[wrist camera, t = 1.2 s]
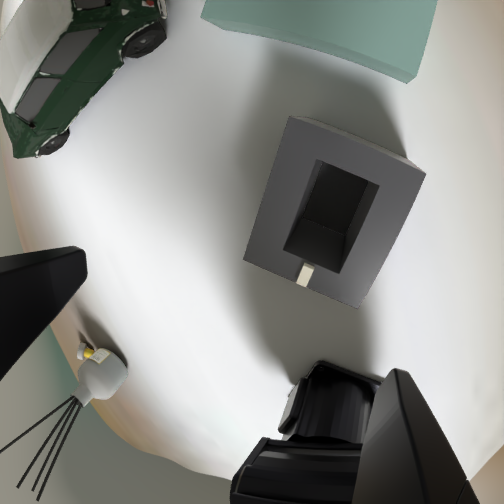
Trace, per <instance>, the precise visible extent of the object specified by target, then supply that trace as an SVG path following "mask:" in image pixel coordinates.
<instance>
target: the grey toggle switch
mask: <svg viewBox="0 0 504 504" xmlns="http://www.w3.org/2000/svg"><path fill="white" fill-rule="evenodd" d="M323 162H326V163H328V164H331V165H333V166H335V167H338V168H340V169H343V170H345V171H347V172H350V173H352V174H354V175H357V176H359V177H361V178H364V179H366V180H368V181H369V182H368V184H367V186H366V189H365V191H364V194H363V196H362V198H361V201H360V203H359V205H358V208H357V210H356V212H355V215H354V217H353V219H352V221H351V224H350V226H349V228H348V230H347V233H346V235H342V234H340V233H338V232H336V231H333V230H331V229H329V228H326V227H324V226H322V225H319V224H317V223H315V222H312V221H310V220H307V219H305V218H303V217H302V216H303V214H304V211H305V208H306V206H307V203H308V201H309V198H310V195H311V193H312V190H313V187H314V185H315V182H316V179H317V176H318V174H319V171H320V168H321V166H322V163H323ZM425 176H426V173H425V172H423V171H422V170H421V169H420V168H419V167H417V166H416V165H415V164H413V163H412V162H411V161H410V160H408V159H407V158H404V157H402V156H400V155H398V154H396V153H394V152H392V151H390V150H387V149H385V148H383V147H381V146H379V145H376V144H374V143H372V142H369V141H367V140H365V139H362V138H360V137H358V136H355V135H353V134H350V133H348V132H345V131H343V130H340V129H338V128H335V127H333V126H330V125H327V124H325V123H322V122H319V121H316V120H314V119H311V118H308V117H295V116H289V118H288V121H287V125H286V128H285V131H284V134H283V137H282V140H281V143H280V146H279V149H278V152H277V155H276V158H275V162H274V165H273V168H272V171H271V174H270V177H269V180H268V183H267V186H266V189H265V193H264V196H263V199H262V202H261V205H260V208H259V211H258V214H257V217H256V221H255V224H254V227H253V230H252V233H251V236H250V239H249V243H248V246H247V249H246V252H245V255H244V258H243V260H245V261H247V262H250V263H252V264H254V265H256V266H259V267H261V268H263V269H266V270H268V271H270V272H273V273H275V274H277V275H279V276H282V277H284V278H286V279H289V280H291V281H293V282H296V284H299V285H301V286H303V287H307V288H309V289H312V290H314V291H316V292H319V293H321V294H323V295H326V296H328V297H330V298H333V299H335V300H337V301H340V302H342V303H344V304H347V305H349V306H351V307H354V308H356V309H358V308H359V306H360V305H361V303H362V301H363V299H364V298H365V296H366V294H367V292H368V291H369V289H370V287H371V285H372V284H373V282H374V280H375V278H376V277H377V275H378V273H379V271H380V269H381V267H382V265H383V264H384V262H385V260H386V258H387V256H388V254H389V252H390V250H391V248H392V246H393V244H394V243H395V241H396V239H397V237H398V235H399V233H400V231H401V228H402V226H403V224H404V222H405V220H406V218H407V216H408V214H409V212H410V210H411V208H412V205H413V203H414V201H415V199H416V197H417V194H418V192H419V190H420V188H421V185H422V183H423V181H424V178H425Z"/></svg>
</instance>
